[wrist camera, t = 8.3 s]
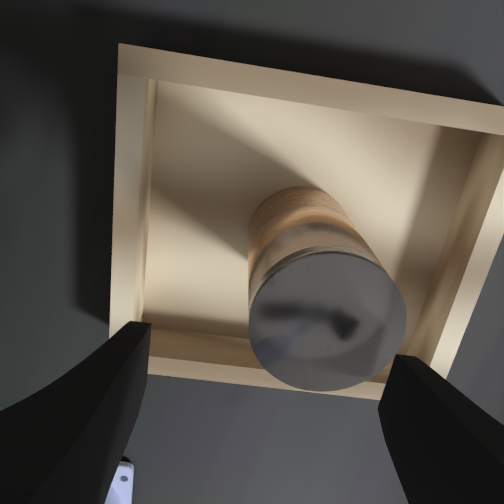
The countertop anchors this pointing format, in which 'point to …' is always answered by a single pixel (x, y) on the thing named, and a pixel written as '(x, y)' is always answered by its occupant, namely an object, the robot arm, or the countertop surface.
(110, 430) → the robot arm
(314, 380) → the can
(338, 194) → the tray
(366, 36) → the countertop surface
